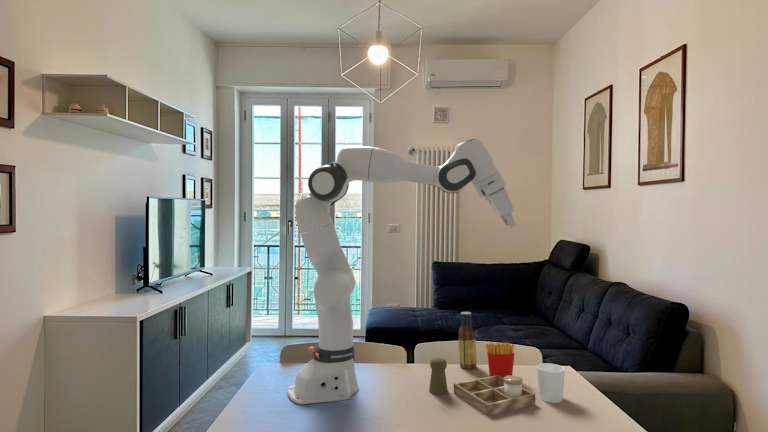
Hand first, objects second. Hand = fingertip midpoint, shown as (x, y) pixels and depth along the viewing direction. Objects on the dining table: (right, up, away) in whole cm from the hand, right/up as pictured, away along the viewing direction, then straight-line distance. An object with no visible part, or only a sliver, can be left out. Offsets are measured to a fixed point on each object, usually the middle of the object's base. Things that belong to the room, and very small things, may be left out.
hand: (511, 225), depth 147 cm
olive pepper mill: (-22, -53, +2) cm, 58 cm away
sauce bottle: (-9, -52, +25) cm, 59 cm away
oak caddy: (-7, -53, -4) cm, 54 cm away
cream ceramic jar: (-1, -52, -6) cm, 53 cm away
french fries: (-1, -53, +12) cm, 54 cm away
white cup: (+11, -53, -4) cm, 54 cm away
